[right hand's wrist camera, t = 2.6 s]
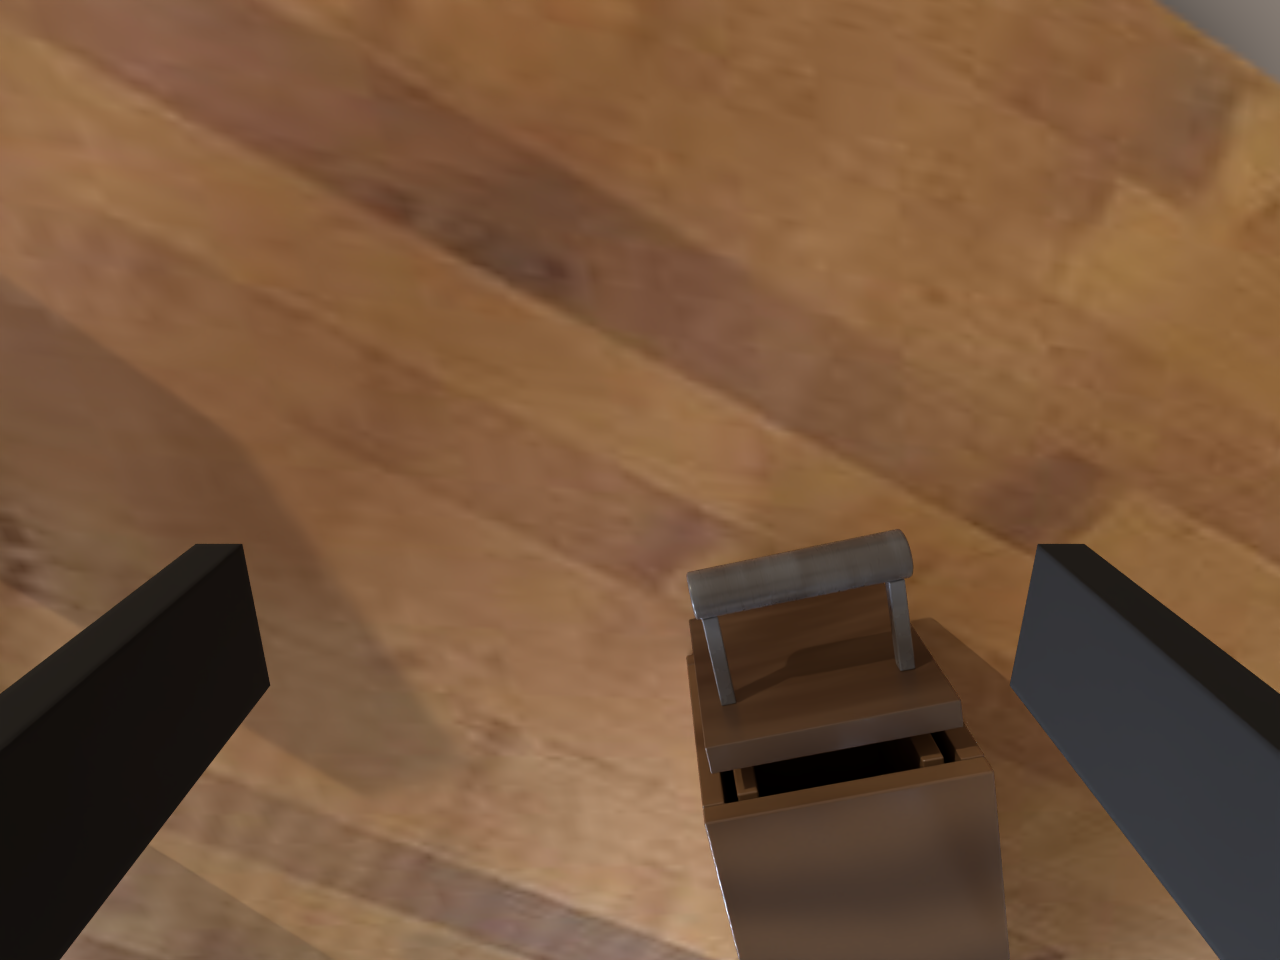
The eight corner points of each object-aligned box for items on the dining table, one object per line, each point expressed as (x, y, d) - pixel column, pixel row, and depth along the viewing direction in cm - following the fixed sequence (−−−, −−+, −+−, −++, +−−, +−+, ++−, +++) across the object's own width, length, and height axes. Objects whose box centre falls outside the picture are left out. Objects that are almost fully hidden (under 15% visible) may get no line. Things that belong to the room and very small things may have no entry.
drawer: (663, 510, 34) (672, 612, 25) (867, 466, 33) (947, 556, 25) (753, 896, 42) (783, 1073, 33) (920, 867, 41) (995, 1040, 33)
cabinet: (685, 655, 38) (704, 824, 27) (895, 613, 37) (994, 771, 27) (752, 930, 44) (787, 1151, 34) (932, 900, 43) (1024, 1116, 33)
